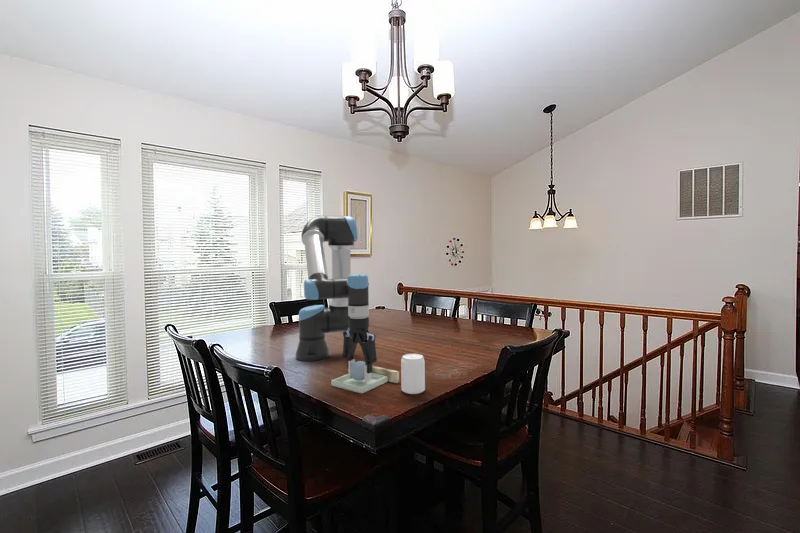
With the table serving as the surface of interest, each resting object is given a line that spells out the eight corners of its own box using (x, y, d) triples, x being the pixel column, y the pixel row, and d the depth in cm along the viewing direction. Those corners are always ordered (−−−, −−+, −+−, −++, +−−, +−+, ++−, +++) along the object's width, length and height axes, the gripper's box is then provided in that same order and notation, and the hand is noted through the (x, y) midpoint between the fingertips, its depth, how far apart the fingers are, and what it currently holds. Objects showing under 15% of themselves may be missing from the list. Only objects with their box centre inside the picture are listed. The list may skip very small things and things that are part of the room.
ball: (346, 381, 140) (345, 362, 140) (358, 376, 146) (358, 357, 145) (360, 385, 136) (360, 365, 136) (373, 379, 142) (373, 360, 141)
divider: (348, 372, 155) (348, 362, 155) (350, 371, 156) (350, 361, 156) (396, 383, 141) (396, 372, 141) (399, 382, 142) (399, 371, 142)
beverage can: (400, 387, 137) (399, 353, 136) (423, 386, 137) (422, 352, 137) (402, 395, 128) (402, 360, 128) (426, 394, 129) (426, 359, 129)
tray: (331, 385, 139) (331, 380, 139) (358, 375, 151) (358, 369, 151) (361, 393, 131) (361, 388, 131) (387, 381, 143) (387, 376, 142)
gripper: (331, 316, 143) (332, 377, 143) (373, 321, 131) (374, 387, 132) (345, 313, 149) (346, 372, 150) (386, 317, 137) (387, 381, 138)
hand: (359, 379), depth 141 cm, fingers closed on ball, 7 cm apart
